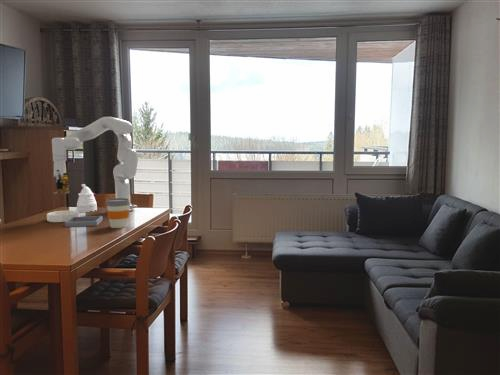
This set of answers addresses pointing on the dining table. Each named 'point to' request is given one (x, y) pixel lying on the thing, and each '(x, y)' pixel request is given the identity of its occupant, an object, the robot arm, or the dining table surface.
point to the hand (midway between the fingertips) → (61, 187)
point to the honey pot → (86, 200)
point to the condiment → (64, 184)
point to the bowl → (61, 216)
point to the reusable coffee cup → (118, 212)
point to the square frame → (84, 221)
